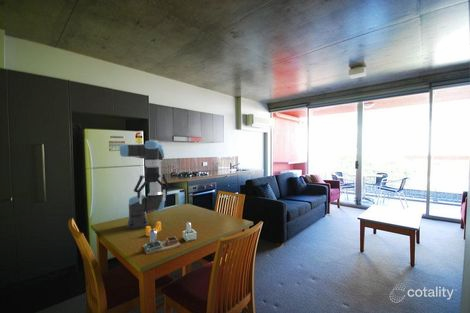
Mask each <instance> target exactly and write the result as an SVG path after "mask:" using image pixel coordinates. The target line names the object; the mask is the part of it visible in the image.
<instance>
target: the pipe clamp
mask: <svg viewBox="0 0 470 313" xmlns="http://www.w3.org/2000/svg"><path fill="white" fill-rule="evenodd" d="M152 229H155V230H157V233H158V232H161V231H162V222H161V221H156V223H155V226H154V228H152V226H150V225H147V226H145V236H146V237H150V230H152Z"/></svg>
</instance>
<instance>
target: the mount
mask: <svg viewBox="0 0 470 313" xmlns="http://www.w3.org/2000/svg"><path fill="white" fill-rule="evenodd" d="M142 247H143V250H144V252H145V254H146V255H147V256H148V255H152V254H156V253H160V252H164V251H167V250H171V249H172V250H173V249H177V248H180V247H182V244H181V243H180V241H179V239H178V237H177V236H175V235H174V236H171V237H170V236H169V237H166V238H165V240H161V241H160V240H157V247H153V248H150V242H148V243H145V244H143V245H142Z"/></svg>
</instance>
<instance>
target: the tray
mask: <svg viewBox="0 0 470 313" xmlns="http://www.w3.org/2000/svg"><path fill="white" fill-rule="evenodd" d="M191 232H192V233H190V234H187V230H186V229H185V230H183V231H182V238H183V240H184V241H185V242H186V243H187V242H190V241H191V242H192V241H195V240H197V231H195V229H193V228H191Z"/></svg>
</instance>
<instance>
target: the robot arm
mask: <svg viewBox="0 0 470 313" xmlns="http://www.w3.org/2000/svg"><path fill="white" fill-rule="evenodd" d="M119 155H120V156H121V157H123V158H125V157H126V158H127V157H128V158H129V157H130V158H131V157H133V158H138V159H144V160H145V162H144V165H145V171H144V172H145V174H144V175H139V179H138V181H137V183H136V185H135V187H134V189H133V192H135V193H136V195H135V196H132V197H129V199H128V220H127V223H126V229H129V230H137V229H142V228H143V229H144V228H146V226H149V221H148V218H147V216H146V212H147V213H148V212H159V211H163V210H164V209H165V201H166V196H167V195H168V190H169V189H171V186H170V184H169V183H168V181H167V179H166V177H165V174H164V173H162V171H161V170H162V167H161V166H162V164H161V163H162V162H163V160H164V159H165V152H164V146H163V145H162V144H161V143H159V141H157V140H146V141H145V142H144V143H140V144H127V143H125V144H121V145H120V146H119ZM144 179H145V180H144ZM143 180H144V182H143V183H142V181H143ZM162 180H163V182H164V183H163V182H162ZM141 183H142V184H141ZM148 183H149V193H148V194H147V196H146V195H145V194H142V190H143V189H144V188H145V187H146V186H147V185H148ZM164 184H165V185H164ZM162 188H163V189H162Z"/></svg>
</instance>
